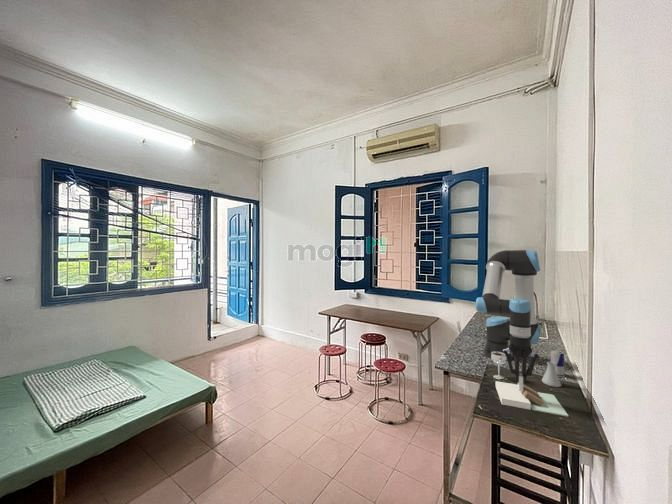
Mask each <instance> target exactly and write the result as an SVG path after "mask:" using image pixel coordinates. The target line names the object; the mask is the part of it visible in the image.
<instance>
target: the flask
mask: <svg viewBox="0 0 672 504" xmlns="http://www.w3.org/2000/svg"><path fill="white" fill-rule="evenodd" d="M546 364H547V367H546V371H545V372H544V375H543V376H542V379H541V381H542V383H543V384H544V385H546V386H549V387H554V388H559V387H560V388H561V387H563V386H562V384H561V381H560V379H559V377H558V376H557V374H556V370H555V365H556V364H555V363H553V362H551V361H546Z"/></svg>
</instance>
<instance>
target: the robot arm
mask: <svg viewBox="0 0 672 504" xmlns="http://www.w3.org/2000/svg"><path fill="white" fill-rule="evenodd" d="M485 269H486V275H485V281H484V284H483V285H484V286H483V290H482V295H481V297H477V298H476V299H475V309H476V311H477V312H478V313H481V314H487V315H499V316H491V317H488V318H486V324H485V327H486V329H485V330H486V331H485V332H486V342H485V344H484V347H483V351H482V352H483V355H484V356H485V357H487V358H490V359H491V355H492V353H491V352H492V351H499V352H503V353H505V355H506V358H507V361H506V363H507V365H508V368H509V371H510V373H511V374H514V380H515V382H516V383H517V385H518V390H519V391H520V392H523V384H524V385H526V384H527V377H531V376H532V375H533V370H534V367H535V364H536V361H537V359H538V358H539V357H540V355H539V354H538V352H535V351H534V350H533V348H532V345H537V344H538V343H539V341H540V335H541V328H542V327H541V324H540V323H538V320H537V319H536V318H535V306H534V305H535V302H534V301H535V299H534V298H535V297H534V295H535V294H534V293H535V291H534V290H535V288H534V286H535V284H534V280H535V277H536V276H537V275H538V272H540V271H541V266H540V261H539V255H538V252H537V251H536V250H532V249H531V250H530V249H515V250H514V249H511V250H509V249H508V250H506V249H505V250H501V251H500V250H499V251H498V252H495V253H494V254H493V255H492V256H490V257H489V258H488V260H487V262H486V264H485ZM505 271H511V274H512V276H513V277H514V284H515V285H514V286H515V287H514V289H515V292H514V293H515V295H514V296H515V297H514V298H511V299H503V298H500V296H501V289H502V282H503V281H502V280H503V274H504V273H505ZM508 317H509V318H508ZM529 356H530V359H529V362H528V366H527V358H528V357H529ZM513 357H514V358H513ZM520 358H521V373H520ZM512 359H514V366H513V363H512Z"/></svg>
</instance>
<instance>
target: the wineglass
mask: <svg viewBox="0 0 672 504" xmlns="http://www.w3.org/2000/svg"><path fill="white" fill-rule="evenodd" d="M491 353H492V355H491V358H490V359H491V361H493V362H494V363H495V364H496V365H497V371H498V374H494V375H493V376H492V377H493V378H494V379H497V380H500V379H504V378H505V377H504V376H502V375H500V370H501V368H500V367H501V365H504V364H505V363H507V358H506V355H505V353H503V352H499V351H492V352H491ZM504 380H505V379H504Z"/></svg>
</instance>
